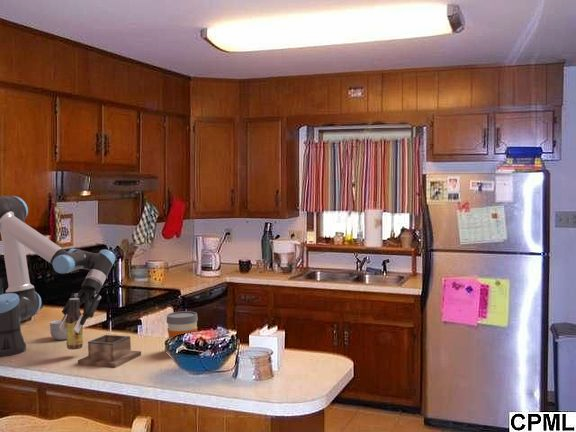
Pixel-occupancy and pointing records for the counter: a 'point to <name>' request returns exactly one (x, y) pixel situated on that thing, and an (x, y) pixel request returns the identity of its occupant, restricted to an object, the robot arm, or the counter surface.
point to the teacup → (57, 330)
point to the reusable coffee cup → (181, 322)
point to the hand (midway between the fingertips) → (68, 330)
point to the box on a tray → (109, 351)
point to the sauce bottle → (72, 317)
